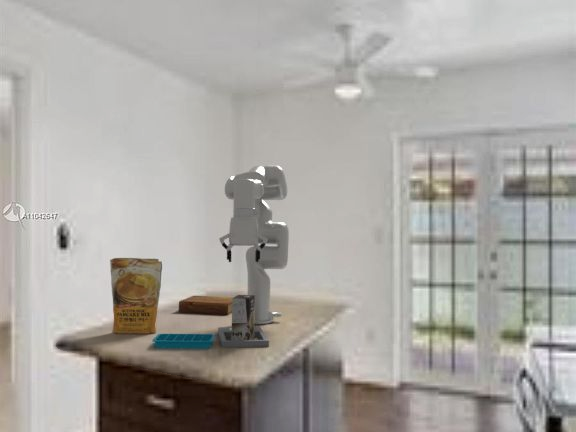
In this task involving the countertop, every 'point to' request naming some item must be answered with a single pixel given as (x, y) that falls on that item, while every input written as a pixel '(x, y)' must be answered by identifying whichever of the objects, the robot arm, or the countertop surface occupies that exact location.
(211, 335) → the ice cube tray
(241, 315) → the coffee box
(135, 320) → the pancake mix bag
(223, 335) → the grey plastic frame
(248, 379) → the countertop surface
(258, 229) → the robot arm
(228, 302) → the diary
